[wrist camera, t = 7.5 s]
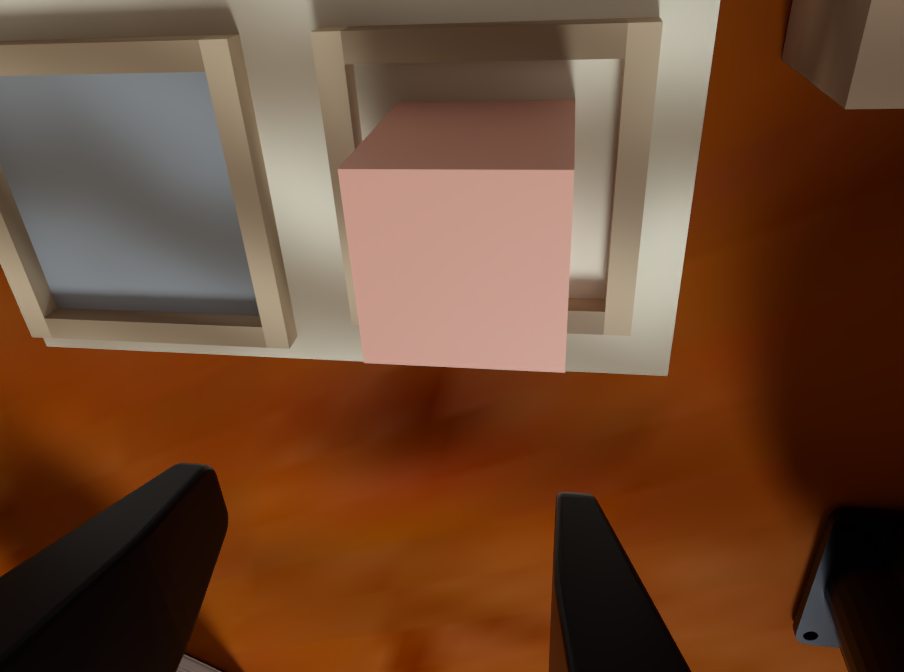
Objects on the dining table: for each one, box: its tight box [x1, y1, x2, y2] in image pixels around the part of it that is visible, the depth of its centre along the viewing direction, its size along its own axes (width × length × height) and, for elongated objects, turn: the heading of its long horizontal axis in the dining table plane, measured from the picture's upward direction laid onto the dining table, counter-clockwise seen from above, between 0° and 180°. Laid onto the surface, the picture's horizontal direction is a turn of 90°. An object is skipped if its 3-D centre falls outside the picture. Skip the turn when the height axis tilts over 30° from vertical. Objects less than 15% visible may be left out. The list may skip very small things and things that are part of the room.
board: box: [0, 0, 720, 376], centre depth 15 cm, size 16×20×7 cm
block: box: [338, 100, 575, 373], centre depth 15 cm, size 4×4×5 cm
